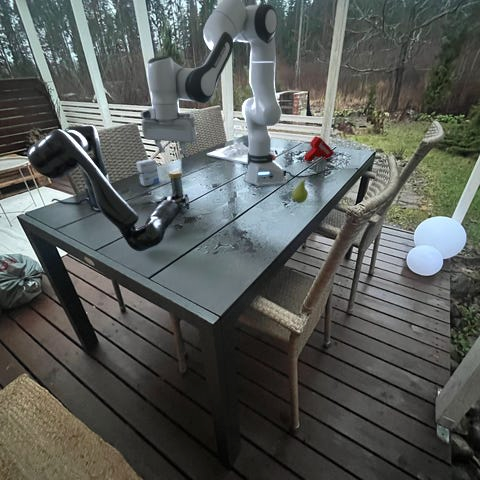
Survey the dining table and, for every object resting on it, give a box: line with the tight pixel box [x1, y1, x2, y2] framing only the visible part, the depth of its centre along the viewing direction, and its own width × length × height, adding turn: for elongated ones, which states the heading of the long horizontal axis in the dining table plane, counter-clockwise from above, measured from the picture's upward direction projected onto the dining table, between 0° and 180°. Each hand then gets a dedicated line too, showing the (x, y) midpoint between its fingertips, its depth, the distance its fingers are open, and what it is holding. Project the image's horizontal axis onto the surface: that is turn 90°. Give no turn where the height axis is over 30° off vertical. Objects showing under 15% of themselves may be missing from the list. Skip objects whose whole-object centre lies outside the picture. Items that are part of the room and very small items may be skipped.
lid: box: [168, 169, 183, 179], centre depth 105 cm, size 5×5×2 cm
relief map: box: [206, 141, 272, 165], centre depth 185 cm, size 27×35×5 cm
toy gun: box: [303, 135, 335, 164], centre depth 171 cm, size 18×4×15 cm
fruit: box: [291, 174, 311, 204], centre depth 118 cm, size 7×8×12 cm
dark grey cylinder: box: [169, 176, 186, 215], centre depth 110 cm, size 4×4×17 cm
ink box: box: [135, 158, 160, 187], centre depth 139 cm, size 8×5×12 cm, turn 135°
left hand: (180, 195), depth 113 cm, fingers closed on dark grey cylinder, 4 cm apart
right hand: (172, 153), depth 101 cm, fingers open, 7 cm apart
